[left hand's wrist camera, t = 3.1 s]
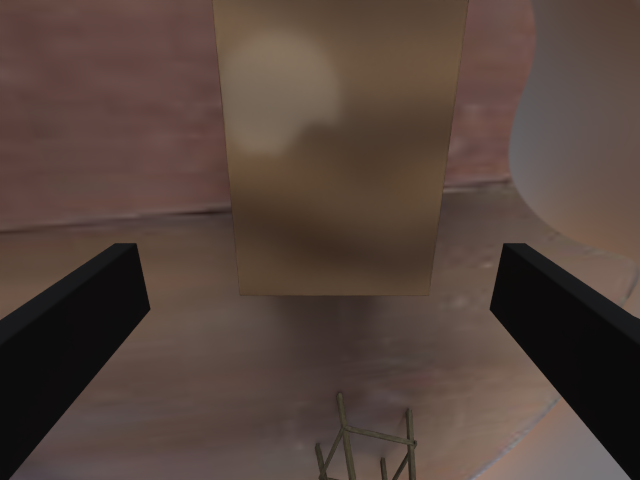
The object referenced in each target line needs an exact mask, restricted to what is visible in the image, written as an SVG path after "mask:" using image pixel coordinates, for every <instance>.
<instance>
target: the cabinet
mask: <svg viewBox="0 0 640 480" xmlns="http://www.w3.org/2000/svg"><path fill="white" fill-rule="evenodd" d="M468 2H469V0H212V6H213V16H214V27H215V37H216V48H217V58H218V69H219V80H220V90H221V101H222V111H223V122H224V132H225V143H226V153H227V164H228V174H229V185H230V196H231V206H232V217H233V227H234V238H235V248H236V259H237V269H238V280H239V291H240V295H267V296H428V295H429V290H430V283H431V275H432V268H433V260H434V253H435V246H436V238H437V231H438V223H439V216H440V209H441V201H442V194H443V187H444V179H445V172H446V164H447V157H448V150H449V142H450V135H451V127H452V120H453V113H454V105H455V98H456V90H457V83H458V76H459V68H460V61H461V53H462V46H463V39H464V31H465V24H466V17H467V9H468Z"/></svg>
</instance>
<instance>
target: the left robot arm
mask: <svg viewBox="0 0 640 480" xmlns="http://www.w3.org/2000/svg"><path fill="white" fill-rule="evenodd" d="M149 311H150V305H149V300H148V295H147V291H146V286H145V281H144V277H143V272H142V267H141V263H140V258H139V253H138V248H137V244H136V243H115V244H113V245H112V246H110V247H109V248H107V249H106V250H104V251H103V252H101V253H100V254H98V255H97V256H95V257H94V258H92V259H91V260H89V261H88V262H86V263H85V264H84V265H82V266H81V267H79V268H78V269H76V270H75V271H73V272H72V273H70V274H69V275H67V276H66V277H64V278H63V279H61V280H60V281H58V282H57V283H55V284H54V285H52V286H51V287H49V288H48V289H46V290H45V291H43V292H42V293H40V294H39V295H37V296H36V297H34V298H33V299H31V300H30V301H28V302H27V303H25V304H24V305H22V306H21V307H19V308H18V309H16V310H15V311H13V312H12V313H10V314H9V315H7V316H6V317H4V318H3V319H2V320H0V480H9V479H10V477H11V476H12V475H13V474H14V473H15V471H16V470H17V469H18V468H19V467H20V465H21V464H22V463H23V462H24V461H25V459H26V458H27V457H28V456H29V455H30V453H31V452H32V451H33V450H34V449H35V447H36V446H37V445H38V444H39V443H40V441H41V440H42V439H43V438H44V437H45V435H46V434H47V433H48V432H49V431H50V429H51V428H52V427H53V426H54V425H55V423H56V422H57V421H58V420H59V419H60V417H61V416H62V415H63V414H64V413H65V411H66V410H67V409H68V408H69V407H70V405H71V404H72V403H73V402H74V401H75V399H76V398H77V397H78V396H79V395H80V393H81V392H82V391H83V390H84V389H85V387H86V386H87V385H88V384H89V383H90V381H91V380H92V379H93V378H94V377H95V375H96V374H97V373H98V372H99V371H100V369H101V368H102V367H103V366H104V365H105V363H106V362H107V361H108V360H109V359H110V357H111V356H112V355H113V354H114V353H115V351H116V350H117V349H118V348H119V347H120V345H121V344H122V343H123V342H124V341H125V339H126V338H127V337H128V336H129V335H130V333H131V332H132V331H133V330H134V329H135V327H136V326H137V325H138V324H139V323H140V321H141V320H142V319H143V318H144V317H145V315H146V314H147V313H148V312H149ZM490 311H491V312H492V313H493V314H494V315H495V317H496V318H497V319H498V320H499V321H500V323H501V324H502V325H503V326H504V327H505V329H506V330H507V331H508V332H509V333H510V335H511V336H512V337H513V338H514V339H515V341H516V342H517V343H518V344H519V345H520V347H521V348H522V349H523V350H524V351H525V353H526V354H527V355H528V356H529V357H530V359H531V360H532V361H533V362H534V363H535V365H536V366H537V367H538V368H539V369H540V371H541V372H542V373H543V374H544V375H545V377H546V378H547V379H548V380H549V381H550V383H551V384H552V385H553V386H554V387H555V389H556V390H557V391H558V392H559V393H560V395H561V396H562V397H563V398H564V399H565V401H566V402H567V403H568V404H569V405H570V407H571V408H572V409H573V410H574V411H575V413H576V414H577V415H578V416H579V417H580V419H581V420H582V421H583V422H584V423H585V425H586V426H587V427H588V428H589V429H590V431H591V432H592V433H593V434H594V435H595V437H596V438H597V439H598V440H599V441H600V443H601V444H602V445H603V446H604V447H605V449H606V450H607V451H608V452H609V453H610V455H611V456H612V457H613V458H614V459H615V461H616V462H617V463H618V464H619V465H620V467H621V468H622V469H623V470H624V471H625V473H626V474H627V475H628V476H629V477H630V479H631V480H640V319H639V318H636V317H634V316H632V315H631V314H630V313H628V312H626V311H625V310H624V309H622V308H621V307H619V306H618V305H616V304H615V303H613V302H612V301H610V300H609V299H607V298H606V297H604V296H603V295H601V294H600V293H598V292H597V291H595V290H594V289H592V288H591V287H589V286H588V285H586V284H585V283H583V282H582V281H580V280H579V279H577V278H576V277H574V276H573V275H571V274H570V273H568V272H567V271H565V270H564V269H562V268H561V267H559V266H558V265H556V264H555V263H554V262H552V261H551V260H549V259H548V258H546V257H545V256H543V255H542V254H540V253H539V252H537V251H536V250H534V249H533V248H531V247H530V246H528V245H527V244H525V243H504V244H503V248H502V253H501V258H500V263H499V267H498V272H497V277H496V281H495V286H494V291H493V295H492V300H491V305H490Z"/></svg>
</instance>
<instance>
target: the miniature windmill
mask: <svg viewBox="0 0 640 480" xmlns="http://www.w3.org/2000/svg"><path fill="white" fill-rule="evenodd" d="M336 397H337V404H338V410H339V417H340V423H341V429H340V431H339V433H338V436H337V438H336V440H335V442H334V445H333V447H332V449H331V451H330V453H329V456H328V458H327V460H326V462H325V464H324V462H323V457H322V453H321V448H320V444H316V446H315V451H316V455H317V460H318V465H319V469H320V476H319V480H337V479H332V478H328V477H327V475H326V470H327V467H328V465H329V463H330V461H331V459H332V456H333V454H334V452H335V450H336V448H337V446H338V443H339V441H340V439H341V437H342V436H343V443H344V450H345V456H346V463H347V469H348V476H349V480H356V476H355V470H354V464H353V458H352V452H351V446H350V440H349V434H348V431H349V432H353V433H357V434H362V435H366V436H371V437H375V438H380V439H384V440H389V441H393V442H398V443H402V444H407V446H408V453H407V454H406V456H405V458H404V460H403V461H402V463H401V465H400V467H399V469H398V470H397V472H396V474H395V476H394V477H393V479H392V480H397V479H398V477H399V475H400V473H401V472H402V470H403V468H404V466H405V465H406V463H407V461H408V467H409V480H416V473H415V456H414V449H415V447H416V446H417V441H415V440H414V439H413V422H412V410H410V409H408V410H407V411H406V425H407V439H403V438H399V437H394V436H390V435H386V434H381V433H377V432H372V431H368V430H363V429H359V428H355V427H350V426H347V421H346V415H345V409H344V403H343V397H342V393H338V394H337V396H336ZM380 464H381V474H382V480H388V479H387V471H386V463H385V458H381V461H380Z"/></svg>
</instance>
